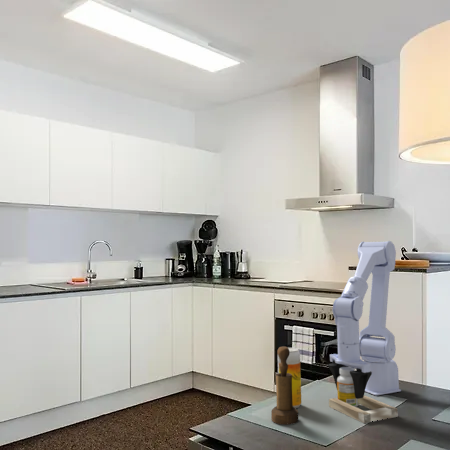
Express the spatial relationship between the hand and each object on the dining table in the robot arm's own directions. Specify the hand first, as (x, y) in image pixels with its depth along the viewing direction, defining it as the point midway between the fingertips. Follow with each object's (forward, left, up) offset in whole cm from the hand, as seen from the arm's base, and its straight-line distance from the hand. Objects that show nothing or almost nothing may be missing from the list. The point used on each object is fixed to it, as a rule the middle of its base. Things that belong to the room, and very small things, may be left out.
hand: (349, 394), depth 131 cm
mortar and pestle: (+21, +1, -3) cm, 21 cm away
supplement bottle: (0, -1, -3) cm, 4 cm away
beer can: (+14, -8, -3) cm, 16 cm away
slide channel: (0, +4, -3) cm, 5 cm away
